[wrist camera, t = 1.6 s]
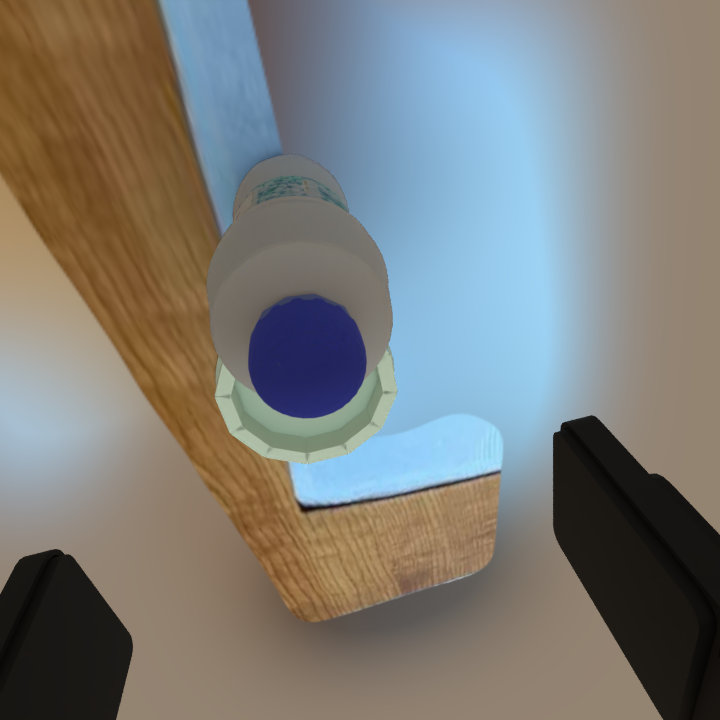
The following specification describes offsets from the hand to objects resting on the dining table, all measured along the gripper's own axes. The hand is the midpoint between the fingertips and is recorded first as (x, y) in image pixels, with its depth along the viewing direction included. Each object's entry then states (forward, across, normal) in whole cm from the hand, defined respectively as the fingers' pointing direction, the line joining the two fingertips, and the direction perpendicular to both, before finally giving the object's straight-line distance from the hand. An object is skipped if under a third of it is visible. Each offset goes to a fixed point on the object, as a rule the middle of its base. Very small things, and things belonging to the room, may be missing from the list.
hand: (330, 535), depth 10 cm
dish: (+25, +2, +11) cm, 27 cm away
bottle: (+25, 0, -1) cm, 25 cm away
